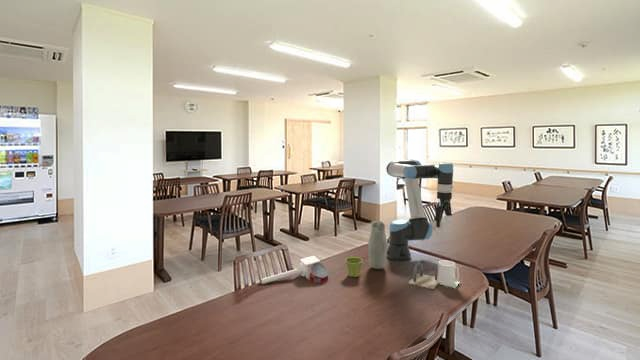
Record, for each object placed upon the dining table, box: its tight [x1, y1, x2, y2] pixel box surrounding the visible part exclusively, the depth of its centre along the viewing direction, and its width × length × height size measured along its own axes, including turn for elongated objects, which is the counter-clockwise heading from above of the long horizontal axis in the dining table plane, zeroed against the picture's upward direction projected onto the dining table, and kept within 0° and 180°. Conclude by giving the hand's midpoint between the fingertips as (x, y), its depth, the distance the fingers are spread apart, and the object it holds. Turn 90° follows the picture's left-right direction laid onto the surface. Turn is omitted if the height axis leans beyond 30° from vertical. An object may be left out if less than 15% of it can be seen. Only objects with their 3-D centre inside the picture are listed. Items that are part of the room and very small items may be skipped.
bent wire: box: [412, 260, 438, 282], centre depth 176 cm, size 9×10×8 cm
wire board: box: [407, 272, 439, 290], centre depth 177 cm, size 13×14×1 cm
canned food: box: [309, 261, 329, 284], centre depth 182 cm, size 11×10×10 cm
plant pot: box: [345, 256, 363, 278], centre depth 186 cm, size 9×9×9 cm
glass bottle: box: [368, 220, 388, 270], centre depth 195 cm, size 10×10×28 cm
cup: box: [437, 259, 460, 285], centre depth 172 cm, size 8×12×10 cm
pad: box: [439, 280, 461, 289], centre depth 173 cm, size 8×8×1 cm
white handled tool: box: [260, 255, 321, 285], centre depth 183 cm, size 9×9×32 cm
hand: (442, 229), depth 184 cm, fingers open, 13 cm apart
